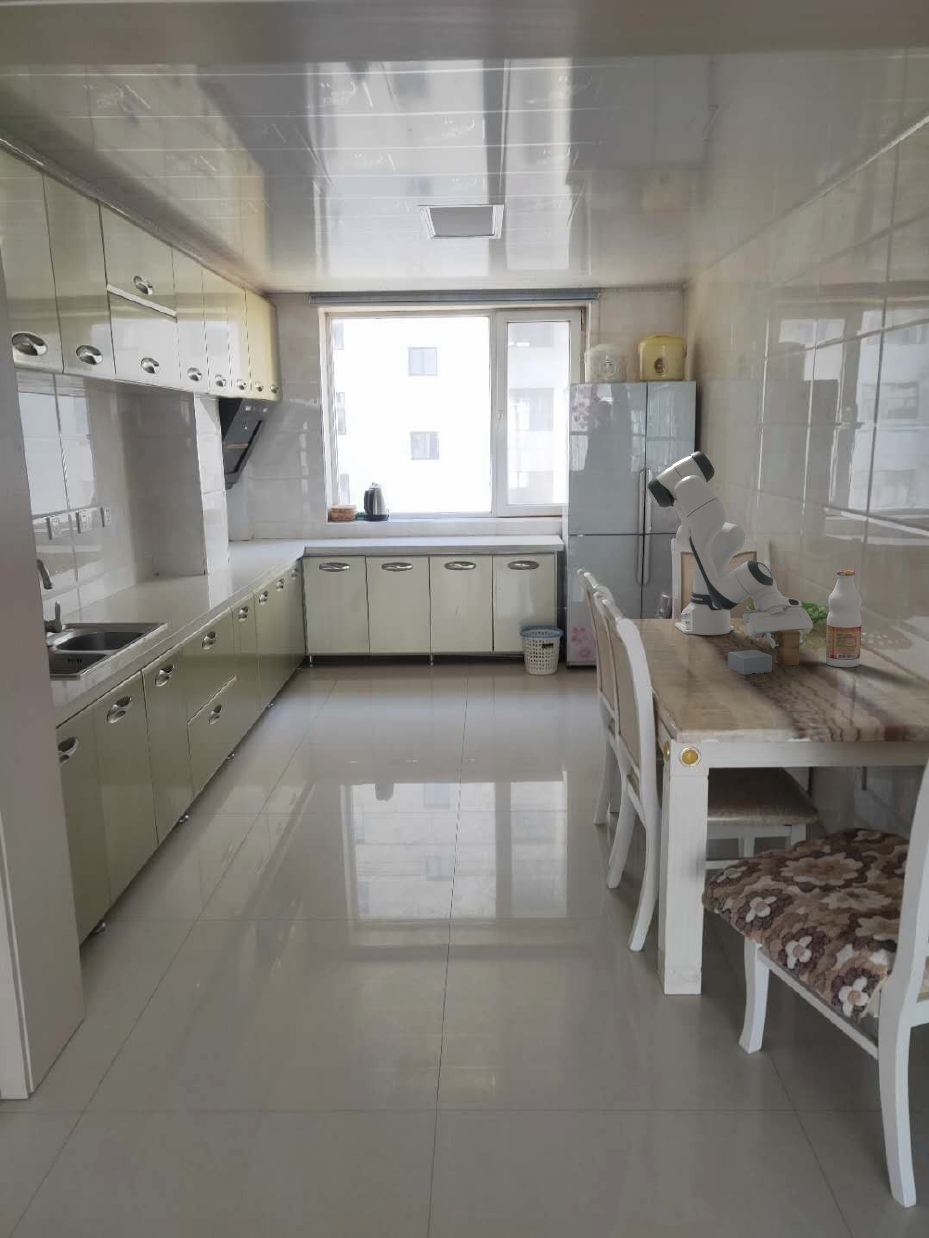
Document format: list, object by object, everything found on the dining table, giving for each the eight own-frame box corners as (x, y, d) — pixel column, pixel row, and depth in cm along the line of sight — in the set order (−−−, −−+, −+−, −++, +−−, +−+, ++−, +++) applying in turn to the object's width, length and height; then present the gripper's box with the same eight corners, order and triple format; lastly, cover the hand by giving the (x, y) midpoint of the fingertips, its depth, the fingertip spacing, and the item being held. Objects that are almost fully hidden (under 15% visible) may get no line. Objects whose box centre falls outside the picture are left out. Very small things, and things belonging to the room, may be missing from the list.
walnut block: (774, 662, 274) (775, 629, 272) (789, 660, 275) (790, 628, 273) (783, 665, 269) (784, 633, 267) (798, 664, 270) (799, 631, 268)
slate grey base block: (727, 668, 270) (728, 652, 269) (754, 665, 272) (755, 649, 271) (743, 675, 261) (744, 658, 260) (771, 672, 263) (772, 655, 262)
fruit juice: (818, 663, 270) (821, 570, 265) (841, 658, 274) (844, 567, 269) (843, 669, 262) (847, 574, 257) (866, 665, 266) (871, 571, 261)
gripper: (744, 605, 274) (760, 643, 266) (805, 600, 278) (823, 637, 270) (736, 617, 279) (752, 654, 271) (796, 611, 283) (813, 648, 275)
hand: (788, 646), depth 271 cm, fingers open, 7 cm apart
